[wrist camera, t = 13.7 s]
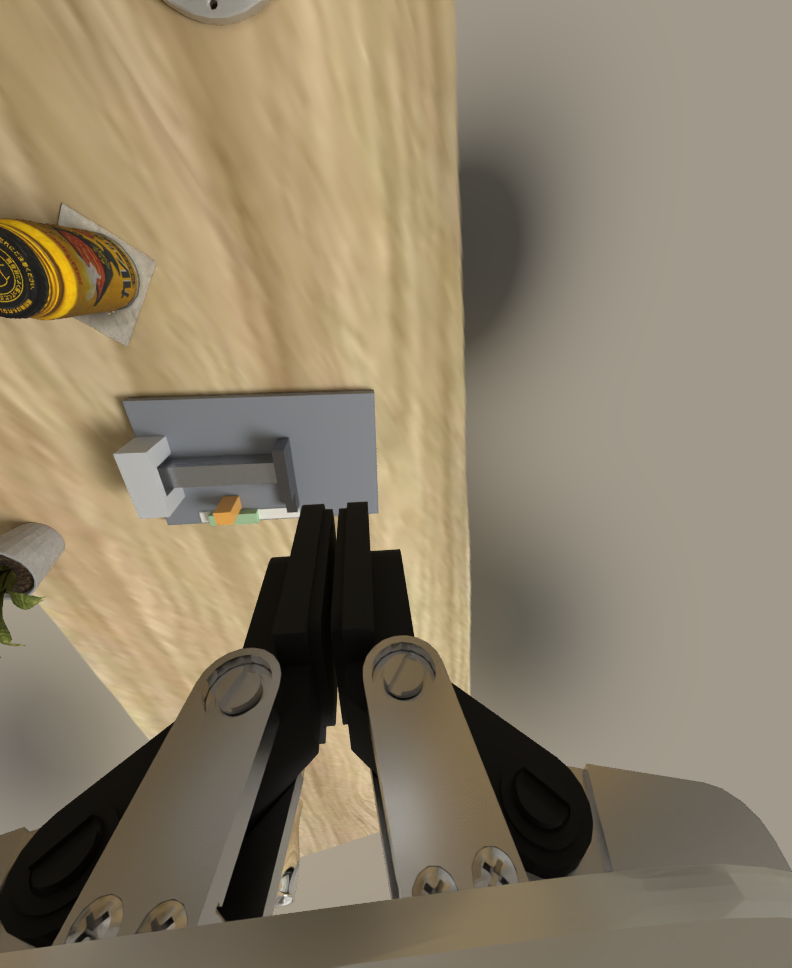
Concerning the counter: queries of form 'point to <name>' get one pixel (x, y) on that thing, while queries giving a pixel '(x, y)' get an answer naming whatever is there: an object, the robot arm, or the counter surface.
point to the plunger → (236, 472)
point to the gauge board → (252, 451)
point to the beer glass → (290, 866)
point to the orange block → (227, 510)
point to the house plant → (25, 566)
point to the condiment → (72, 274)
